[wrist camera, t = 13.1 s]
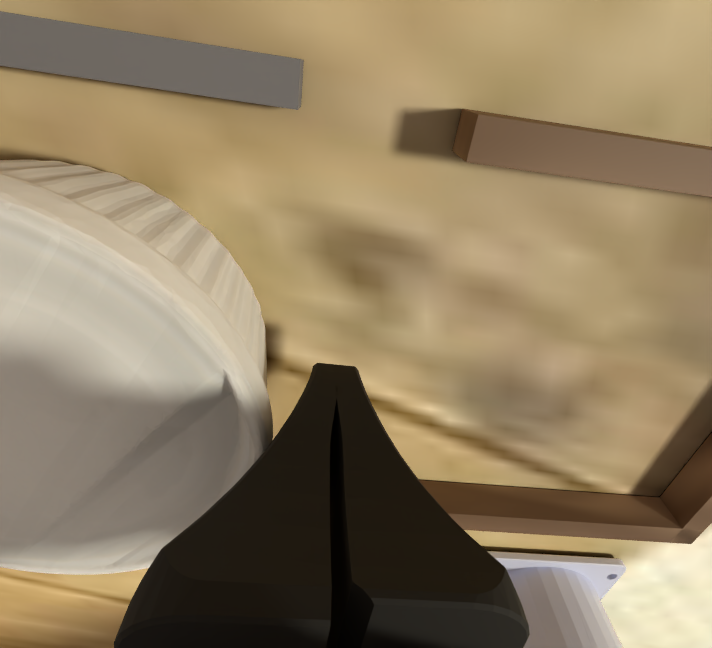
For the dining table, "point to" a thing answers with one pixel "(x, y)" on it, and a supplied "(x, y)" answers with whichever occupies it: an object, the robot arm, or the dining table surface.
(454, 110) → the dining table surface
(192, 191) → the dining table surface
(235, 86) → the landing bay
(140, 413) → the ramekin
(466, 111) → the frame
